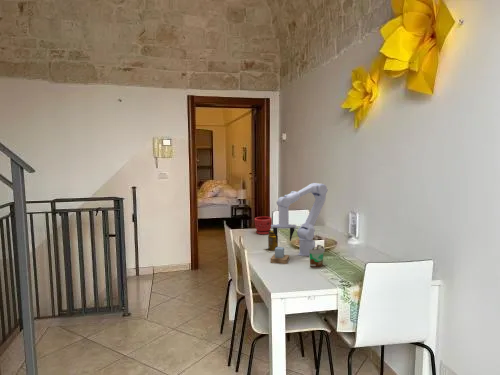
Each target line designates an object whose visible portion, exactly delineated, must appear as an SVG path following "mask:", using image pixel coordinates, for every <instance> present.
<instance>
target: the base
mask: <svg viewBox="0 0 500 375" xmlns="http://www.w3.org/2000/svg"><path fill="white" fill-rule="evenodd" d="M289 261H290V255H289V254H284V257H283V258H275V253H274V254H273V255H272V256H271V257H270V264H280V265H287V264H288V262H289Z"/></svg>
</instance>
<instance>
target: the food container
mask: <svg viewBox="0 0 500 375" xmlns="http://www.w3.org/2000/svg"><path fill="white" fill-rule="evenodd" d="M325 249H326V248H325V246H324V245H321V244H316V246H315V248H313V249H312V250H311V249H309V253H310V256H309V267H310V268H321V267H323V263H324V254H325V252H326V250H325Z"/></svg>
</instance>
